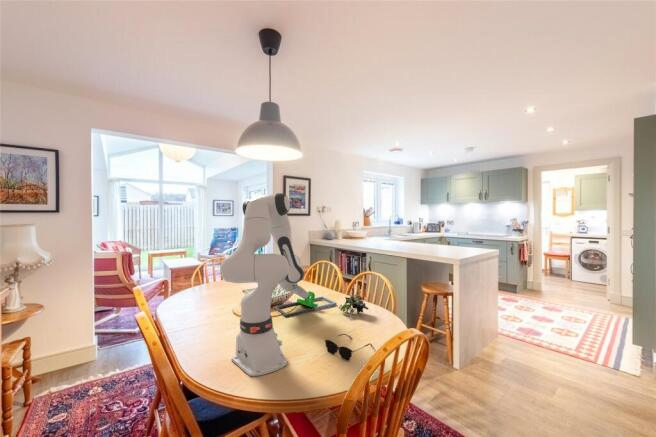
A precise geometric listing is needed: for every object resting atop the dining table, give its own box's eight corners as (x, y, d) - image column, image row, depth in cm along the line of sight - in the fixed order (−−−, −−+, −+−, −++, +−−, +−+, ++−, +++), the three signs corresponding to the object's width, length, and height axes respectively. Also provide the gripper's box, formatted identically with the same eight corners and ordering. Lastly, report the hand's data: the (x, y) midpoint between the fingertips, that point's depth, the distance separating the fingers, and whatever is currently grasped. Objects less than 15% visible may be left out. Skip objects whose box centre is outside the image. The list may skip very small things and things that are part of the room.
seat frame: (314, 310, 155) (314, 308, 155) (285, 317, 145) (285, 315, 145) (301, 302, 168) (301, 300, 168) (273, 308, 158) (273, 306, 158)
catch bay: (336, 305, 163) (336, 302, 163) (314, 310, 155) (314, 307, 155) (322, 298, 176) (322, 296, 176) (301, 303, 168) (301, 300, 168)
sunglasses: (324, 351, 110) (324, 338, 110) (349, 340, 122) (349, 328, 122) (351, 364, 100) (352, 350, 101) (375, 350, 112) (376, 338, 112)
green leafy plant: (358, 323, 151) (373, 305, 149) (348, 327, 141) (364, 307, 139) (342, 306, 158) (356, 289, 155) (332, 309, 147) (346, 290, 145)
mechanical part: (317, 308, 159) (320, 294, 161) (309, 306, 155) (313, 292, 157) (304, 303, 167) (307, 290, 169) (296, 301, 163) (300, 288, 165)
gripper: (301, 282, 147) (317, 297, 153) (285, 275, 164) (300, 289, 170) (294, 292, 145) (310, 307, 151) (278, 284, 162) (293, 297, 168)
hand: (304, 297), depth 160 cm, fingers closed
